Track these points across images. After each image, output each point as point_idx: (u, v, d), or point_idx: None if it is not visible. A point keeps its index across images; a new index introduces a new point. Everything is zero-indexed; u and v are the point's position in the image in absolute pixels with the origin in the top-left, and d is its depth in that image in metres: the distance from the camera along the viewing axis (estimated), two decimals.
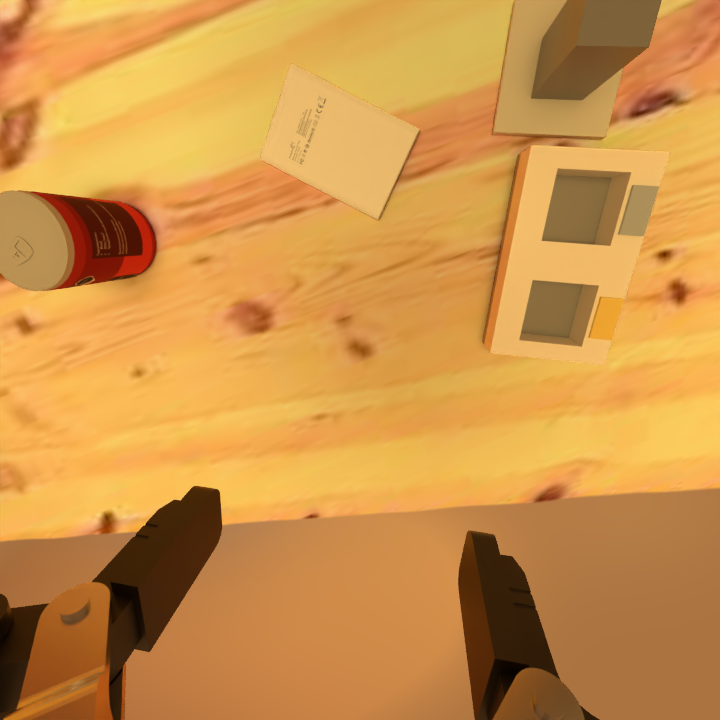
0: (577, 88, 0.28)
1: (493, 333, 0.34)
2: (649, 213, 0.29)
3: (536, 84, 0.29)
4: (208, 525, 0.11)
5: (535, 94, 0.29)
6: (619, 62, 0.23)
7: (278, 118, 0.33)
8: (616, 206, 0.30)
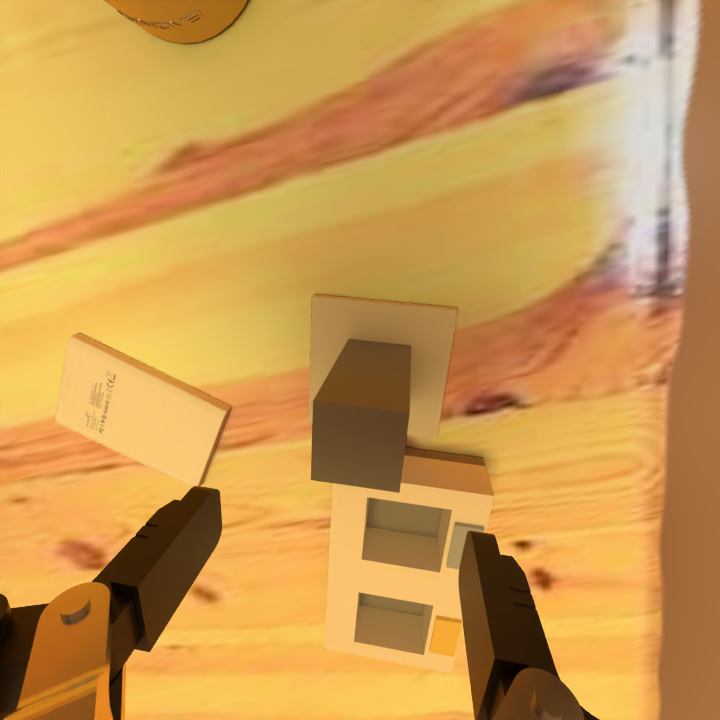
0: None
1: None
2: None
3: None
4: (208, 525, 0.11)
5: None
6: None
7: (66, 388, 0.28)
8: (445, 529, 0.25)
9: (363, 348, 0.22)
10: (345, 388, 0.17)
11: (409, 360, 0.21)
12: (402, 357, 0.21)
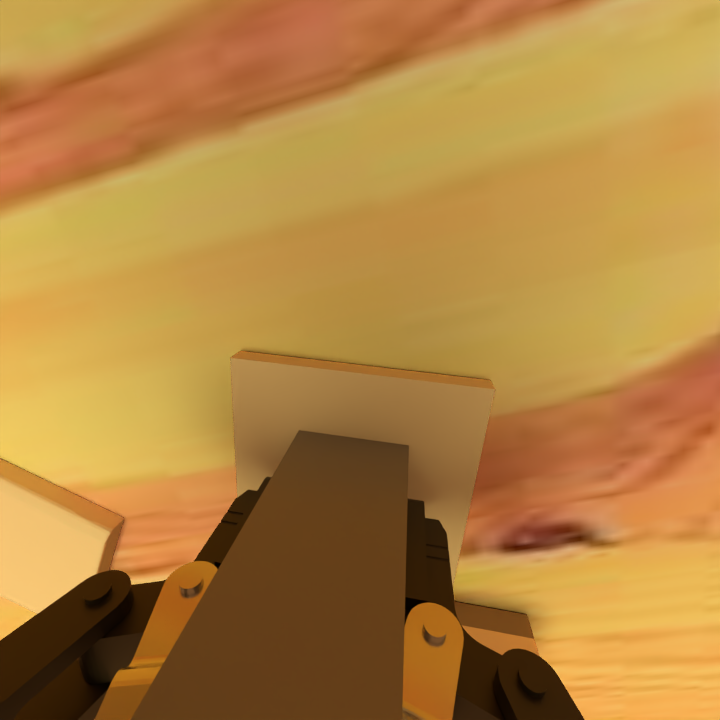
0: None
1: None
2: None
3: None
4: None
5: None
6: None
7: None
8: None
9: (318, 461, 0.12)
10: (234, 654, 0.06)
11: (404, 499, 0.10)
12: (392, 489, 0.11)
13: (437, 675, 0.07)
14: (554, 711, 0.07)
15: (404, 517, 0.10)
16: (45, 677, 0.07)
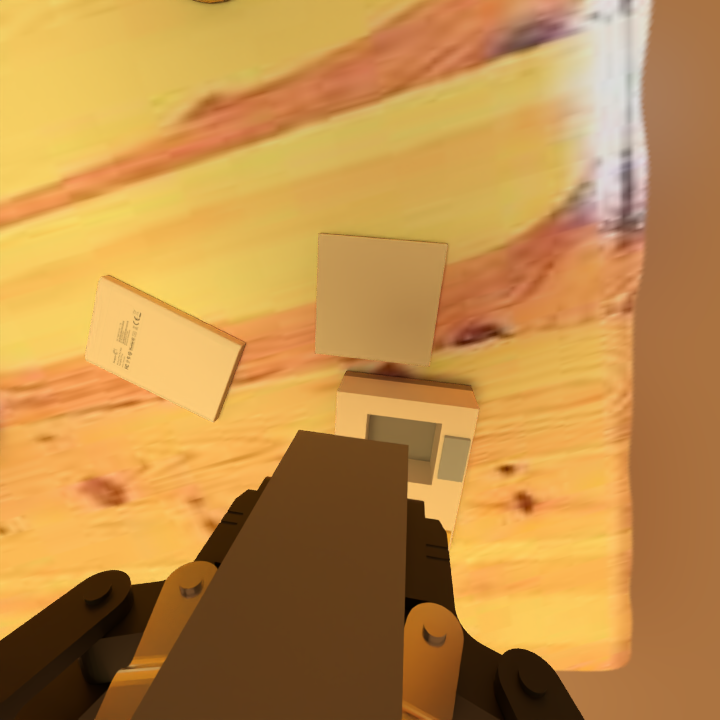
0: None
1: None
2: (464, 463, 0.27)
3: None
4: None
5: None
6: None
7: (96, 326, 0.31)
8: (436, 445, 0.28)
9: (318, 461, 0.12)
10: (234, 653, 0.06)
11: (404, 499, 0.10)
12: (391, 489, 0.11)
13: (437, 675, 0.07)
14: (554, 711, 0.07)
15: (404, 517, 0.10)
16: (45, 677, 0.07)
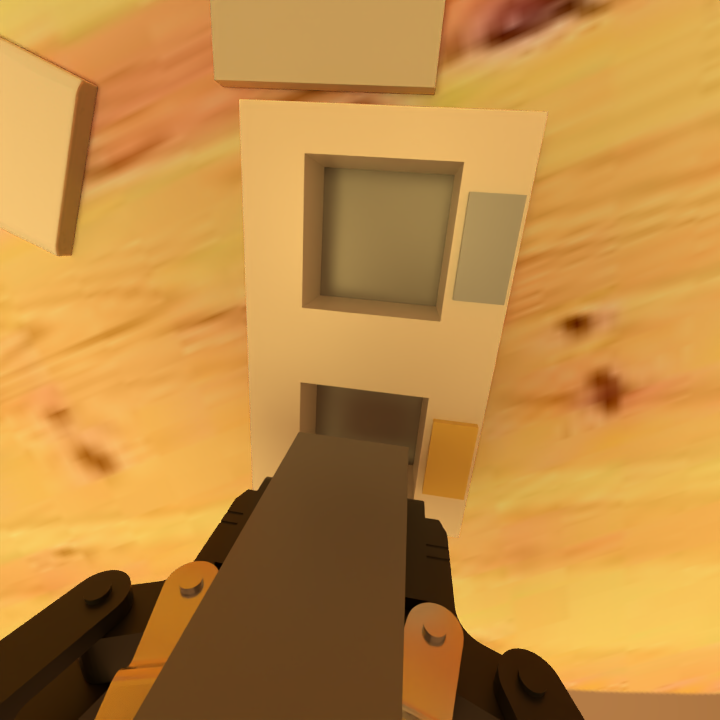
0: None
1: None
2: (511, 256, 0.13)
3: None
4: None
5: None
6: None
7: None
8: (450, 237, 0.14)
9: (318, 463, 0.12)
10: (234, 658, 0.06)
11: (404, 501, 0.10)
12: (391, 492, 0.11)
13: (437, 675, 0.07)
14: (554, 711, 0.07)
15: (404, 519, 0.10)
16: (45, 677, 0.07)
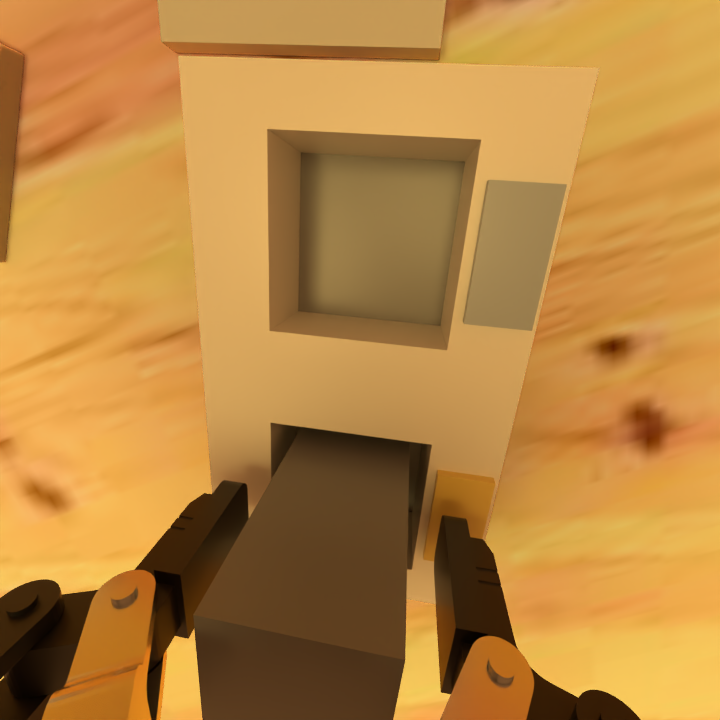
0: None
1: None
2: (542, 267, 0.09)
3: None
4: (238, 518, 0.12)
5: None
6: None
7: None
8: (460, 241, 0.10)
9: None
10: (277, 556, 0.08)
11: (407, 458, 0.12)
12: (396, 451, 0.13)
13: (500, 718, 0.06)
14: None
15: (406, 471, 0.12)
16: None
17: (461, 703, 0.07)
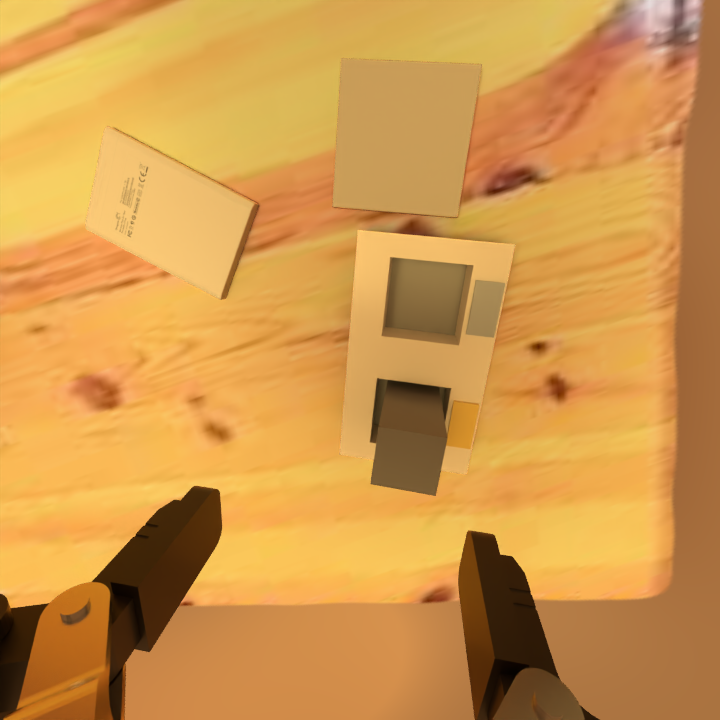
0: None
1: None
2: (497, 312, 0.24)
3: None
4: (209, 525, 0.11)
5: None
6: None
7: (99, 186, 0.29)
8: (465, 300, 0.25)
9: (402, 384, 0.28)
10: (398, 417, 0.23)
11: (439, 395, 0.27)
12: (434, 393, 0.27)
13: None
14: None
15: (440, 399, 0.26)
16: None
17: None
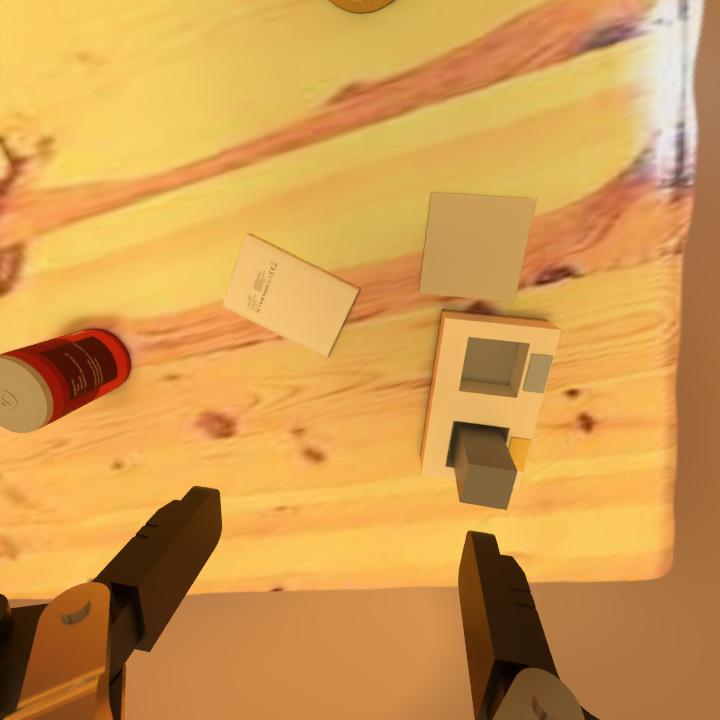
0: None
1: (423, 459, 0.38)
2: (546, 376, 0.33)
3: (452, 446, 0.39)
4: (208, 525, 0.11)
5: (452, 450, 0.40)
6: None
7: (236, 276, 0.38)
8: (521, 365, 0.34)
9: (470, 423, 0.38)
10: (478, 454, 0.32)
11: (500, 433, 0.36)
12: (495, 430, 0.36)
13: None
14: None
15: (501, 436, 0.35)
16: None
17: None
